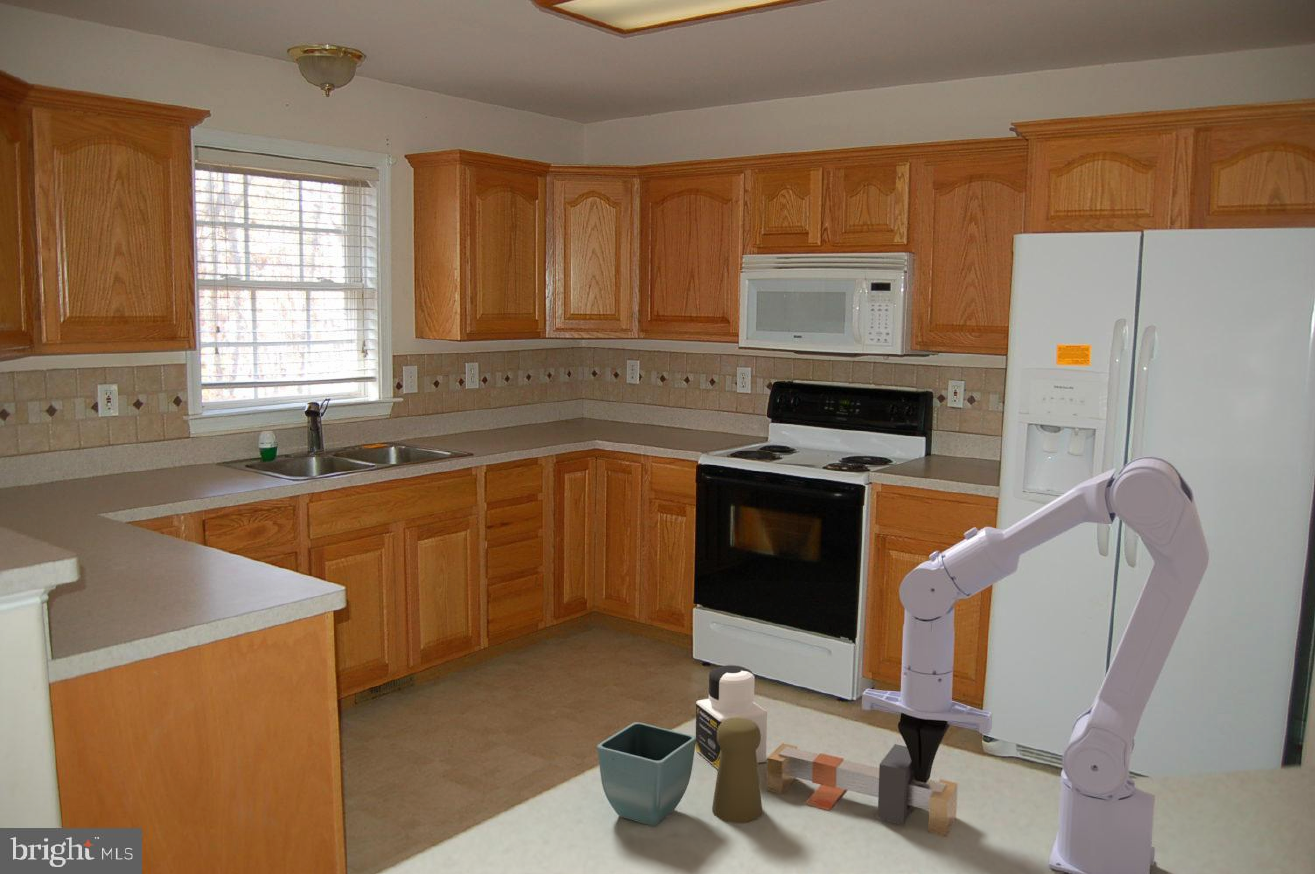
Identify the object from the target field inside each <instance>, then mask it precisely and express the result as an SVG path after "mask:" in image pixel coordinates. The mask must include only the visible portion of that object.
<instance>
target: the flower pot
mask: <svg viewBox="0 0 1315 874" xmlns="http://www.w3.org/2000/svg"><path fill="white" fill-rule="evenodd" d="M596 748H597V756H598V764H599V772H600V773H599V774H600V779H601V780H600V781H601V785H602V789H603V791H604V794H605V796H606V798H607V801H608V802H609V804H610V805H611V807H612V808H613V809H612V810H614V811H615V813H616V814H617V815H618V816H619V817H622V818H625V819H628V820H632V821H635V822H638V823H641V824H644V825H646V826H651V827H654V826H657V825H658V824H659V823H660V822H661V821H662V820H664V819H665V818H667V816H670V814H672V813H673V812H674V811H675V810H676V809H677V807H678V805H679V803H680V802H681V801H682V799H683V797H684V795H685V792H686V791H687V788H688V786H689V783H690V780H691V775H692V771H693V765H694V758H695V757H694V756H695V751H696V749H695V748H696V735H693V734H692V735H691V734H688V733H684V732H680V731H675V730H672V729H668V728H663V727H658V726H655V725H651V724H647V723H643V722H639V721H638V722H637V721H635V722H633V723H630V724H629V725H628V726H626V727H624V728H623V729H621V730H620V731H618V732H616V733H614V734H613V735H611V736H610V737H608V738H607V739H605V740H603V741H602V742H600V743H598V744H597V745H596Z"/></svg>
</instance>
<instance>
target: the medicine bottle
mask: <svg viewBox="0 0 1315 874" xmlns="http://www.w3.org/2000/svg"><path fill="white" fill-rule="evenodd" d="M755 677H756V676H755V674H754V673H753V672H752V671H751V670H750V669H748V668H746V667H743V666H740V665H735V664H734V665H733V664H728V665H721V666H718V667H716V668H713V669H711V671H710V672H709V674H708V698H705V699H699V700H697V701H696V702H695V703H696V704H695V737H696V744H695V751H697V753H699V754H700V755H701V756H702V757H703V758H704V759H706V760H707V762H709V763H710V764H711V765H712V766H713V767H714V768H716V769H717V770H718V766H719V760H720V753H721V748H720V746H719V745H718V742H717V729H718V727H719V725H720V724H721V722H722V721H724V720H726V719H729V718H736V717H737V718H746V719H749V720H751V721H753V722H755V723H756V724H757V725H758V727H759V729H760V734H761V741H760V744H759V747H758V748H757V749H756V758H757V764H762V763H765V762H767V743H768V742H767V741H768V738H767V737H768V736H767V735H768V734H767V732H768V729H767V728H768V712H767V710H766V709H764V708H763V707H761V706H760V705H758V704H757V703H755Z"/></svg>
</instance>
